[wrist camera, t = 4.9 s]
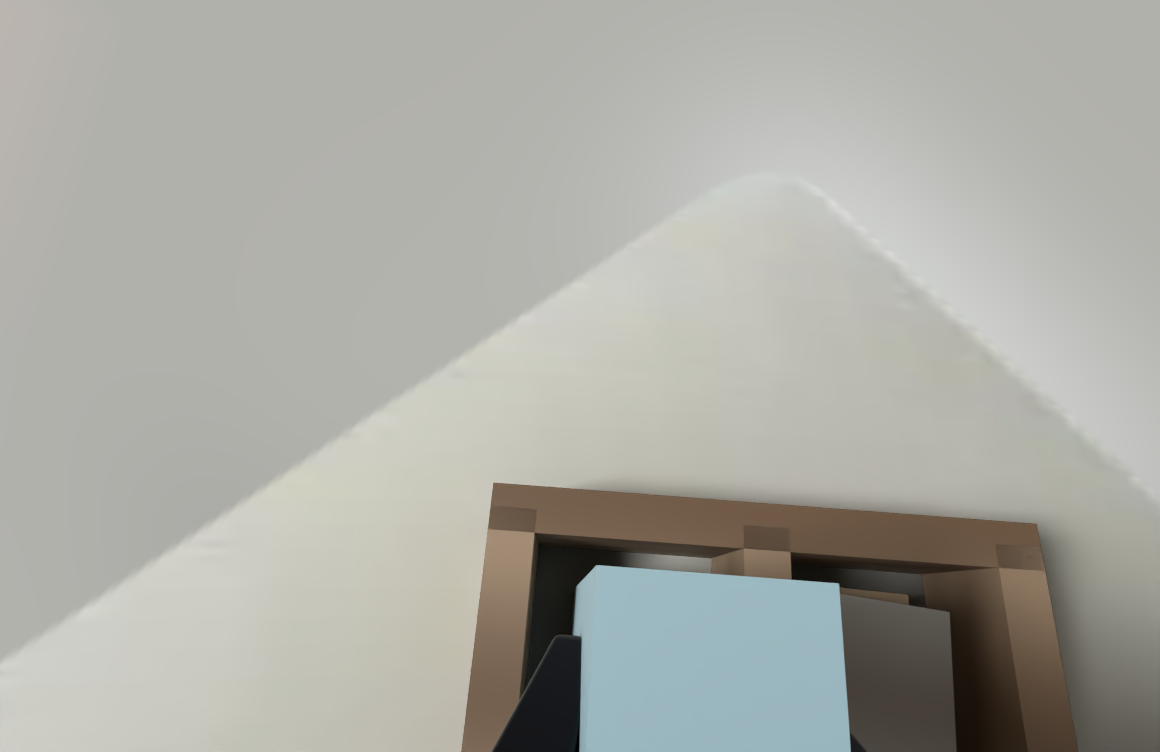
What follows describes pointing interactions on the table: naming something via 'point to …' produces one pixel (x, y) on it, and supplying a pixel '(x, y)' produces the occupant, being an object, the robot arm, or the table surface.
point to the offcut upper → (898, 676)
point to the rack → (767, 549)
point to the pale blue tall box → (709, 663)
